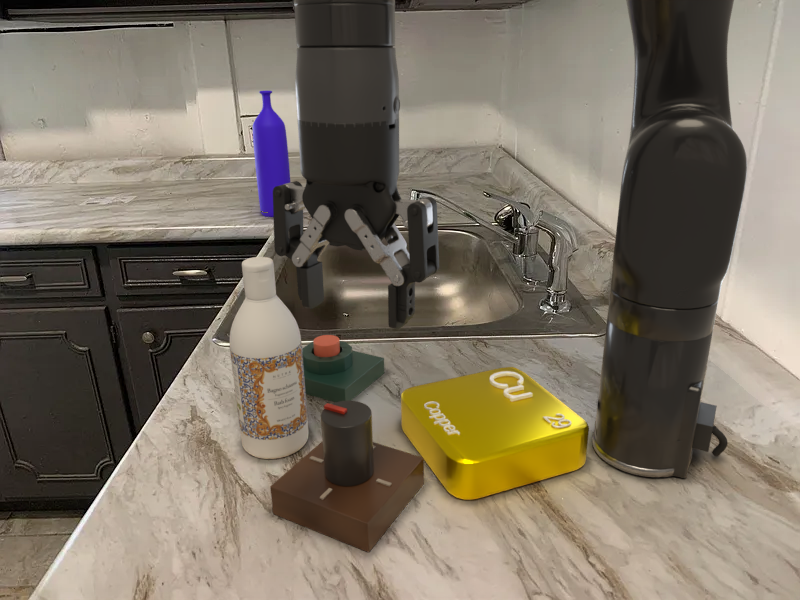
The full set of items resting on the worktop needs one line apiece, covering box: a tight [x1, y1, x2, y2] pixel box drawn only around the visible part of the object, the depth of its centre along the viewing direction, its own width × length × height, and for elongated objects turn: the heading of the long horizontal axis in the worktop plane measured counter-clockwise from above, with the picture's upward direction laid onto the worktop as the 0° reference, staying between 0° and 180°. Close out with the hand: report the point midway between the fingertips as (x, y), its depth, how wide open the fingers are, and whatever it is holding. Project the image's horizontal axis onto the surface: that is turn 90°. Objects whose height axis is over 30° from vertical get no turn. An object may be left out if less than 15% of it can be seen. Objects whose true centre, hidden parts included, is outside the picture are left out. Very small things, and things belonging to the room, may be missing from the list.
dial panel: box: [269, 441, 425, 553], centre depth 57 cm, size 10×10×3 cm
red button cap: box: [312, 334, 341, 357], centre depth 78 cm, size 3×3×2 cm
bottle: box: [252, 90, 291, 218], centre depth 157 cm, size 8×8×30 cm
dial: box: [320, 400, 374, 486], centre depth 56 cm, size 4×4×6 cm
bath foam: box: [229, 256, 310, 460], centre depth 63 cm, size 7×7×20 cm
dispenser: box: [302, 340, 385, 403], centre depth 79 cm, size 11×9×4 cm
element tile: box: [400, 366, 590, 501], centre depth 65 cm, size 15×15×5 cm
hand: (355, 315), depth 53 cm, fingers open, 8 cm apart
